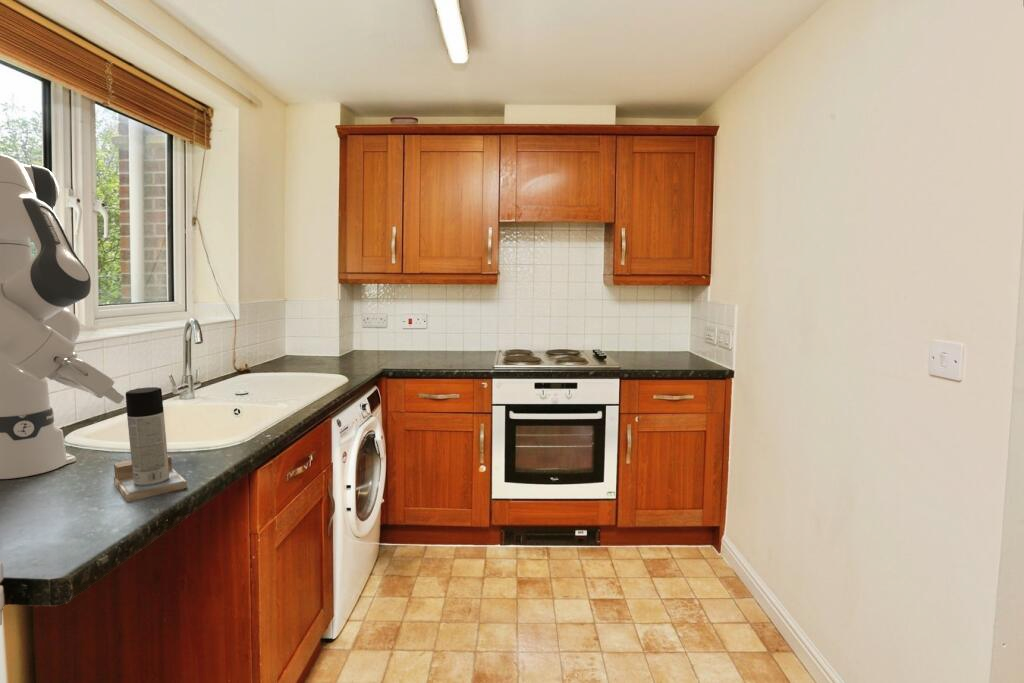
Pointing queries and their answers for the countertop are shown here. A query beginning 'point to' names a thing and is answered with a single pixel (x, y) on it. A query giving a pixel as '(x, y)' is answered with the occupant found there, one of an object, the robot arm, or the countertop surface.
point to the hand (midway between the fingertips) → (111, 397)
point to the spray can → (147, 436)
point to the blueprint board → (135, 492)
